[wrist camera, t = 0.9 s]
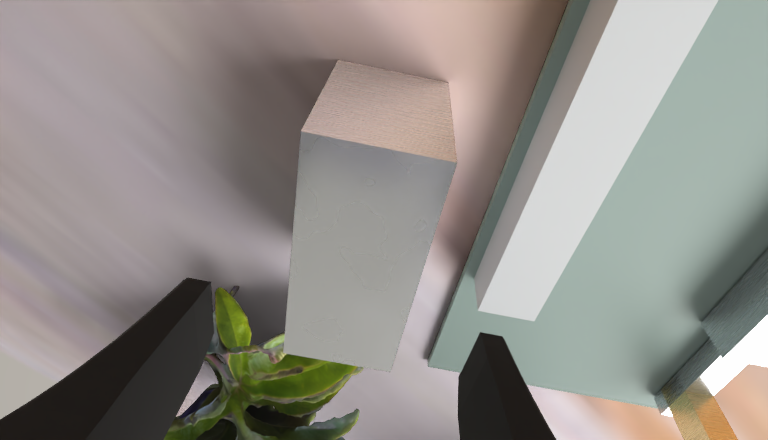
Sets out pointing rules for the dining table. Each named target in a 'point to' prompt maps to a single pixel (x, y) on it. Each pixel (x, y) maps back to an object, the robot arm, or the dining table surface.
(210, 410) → the green leafy plant
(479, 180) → the dining table surface
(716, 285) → the vise base
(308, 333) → the steel block
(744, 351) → the block
